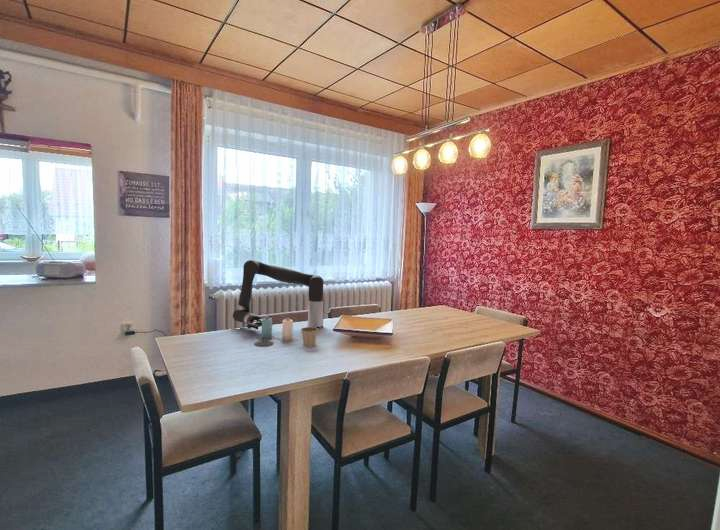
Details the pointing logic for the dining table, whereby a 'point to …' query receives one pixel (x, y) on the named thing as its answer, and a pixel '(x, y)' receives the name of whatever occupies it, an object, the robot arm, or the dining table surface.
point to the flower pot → (309, 335)
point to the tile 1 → (265, 339)
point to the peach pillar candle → (287, 329)
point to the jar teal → (266, 328)
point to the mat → (264, 343)
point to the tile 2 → (287, 341)
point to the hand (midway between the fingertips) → (264, 326)
